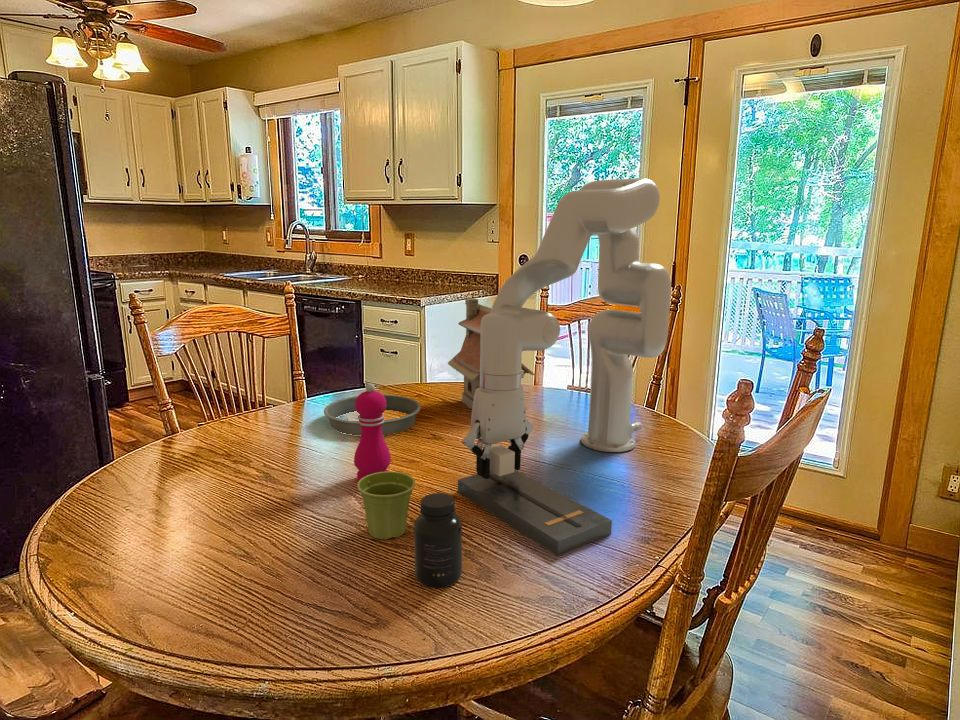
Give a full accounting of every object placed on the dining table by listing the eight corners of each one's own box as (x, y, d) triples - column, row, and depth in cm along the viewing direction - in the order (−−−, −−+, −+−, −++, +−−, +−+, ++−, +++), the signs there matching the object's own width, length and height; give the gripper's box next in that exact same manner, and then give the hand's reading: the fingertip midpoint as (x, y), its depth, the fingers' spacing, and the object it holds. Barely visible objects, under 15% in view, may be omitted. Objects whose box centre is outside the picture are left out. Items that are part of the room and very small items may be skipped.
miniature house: (475, 426, 152) (476, 309, 146) (446, 401, 174) (446, 298, 168) (539, 419, 159) (543, 306, 152) (503, 395, 181) (505, 296, 174)
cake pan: (374, 404, 171) (373, 389, 170) (440, 420, 157) (440, 404, 157) (304, 426, 152) (303, 409, 151) (372, 447, 138) (371, 428, 137)
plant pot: (425, 523, 102) (424, 475, 101) (400, 550, 94) (399, 499, 92) (376, 514, 105) (375, 468, 104) (348, 539, 97) (346, 490, 95)
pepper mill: (383, 489, 115) (381, 389, 111) (348, 486, 117) (344, 387, 112) (396, 474, 122) (394, 380, 118) (363, 471, 124) (359, 378, 119)
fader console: (457, 491, 115) (457, 479, 114) (506, 477, 121) (507, 465, 121) (557, 556, 92) (558, 540, 92) (611, 534, 99) (612, 519, 99)
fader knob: (483, 475, 114) (483, 447, 113) (498, 471, 116) (498, 444, 115) (499, 484, 110) (499, 455, 109) (514, 480, 112) (514, 452, 111)
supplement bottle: (415, 563, 90) (414, 489, 87) (460, 562, 91) (460, 488, 88) (414, 590, 83) (413, 511, 81) (463, 588, 84) (463, 510, 81)
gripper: (523, 370, 117) (521, 456, 121) (449, 383, 107) (449, 476, 111) (549, 378, 111) (546, 468, 115) (473, 392, 101) (472, 490, 105)
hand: (498, 471), depth 113 cm, fingers open, 6 cm apart
